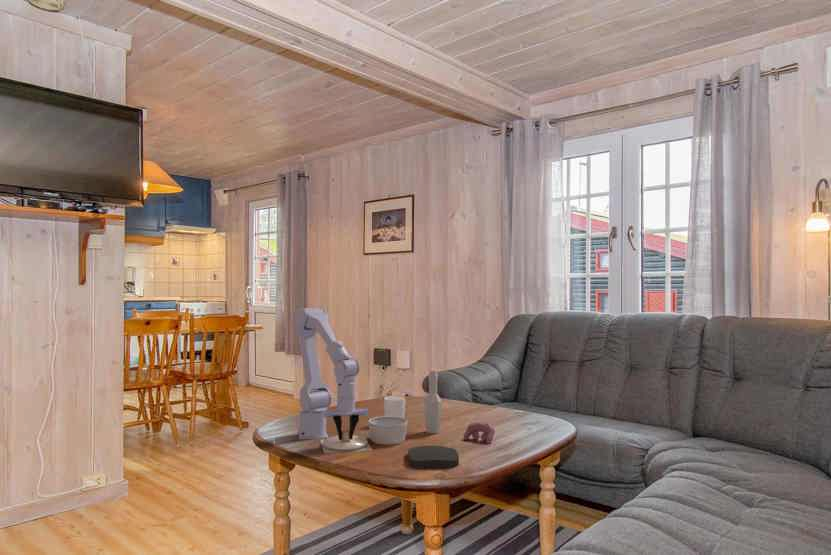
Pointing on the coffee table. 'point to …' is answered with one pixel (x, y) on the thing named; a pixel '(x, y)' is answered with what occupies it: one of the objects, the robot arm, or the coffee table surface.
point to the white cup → (394, 406)
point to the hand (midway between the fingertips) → (345, 439)
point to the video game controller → (480, 427)
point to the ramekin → (387, 430)
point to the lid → (345, 441)
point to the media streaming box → (433, 457)
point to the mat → (328, 450)
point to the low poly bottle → (432, 405)
